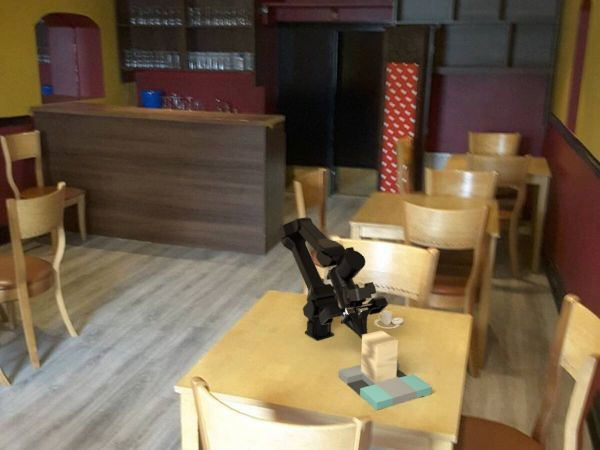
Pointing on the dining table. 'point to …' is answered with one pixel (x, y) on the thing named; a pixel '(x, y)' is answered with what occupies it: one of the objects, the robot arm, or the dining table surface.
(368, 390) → the mint green slab
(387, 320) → the teacup and saucer
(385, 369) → the maple block
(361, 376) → the board
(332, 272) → the robot arm
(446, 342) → the dining table surface
